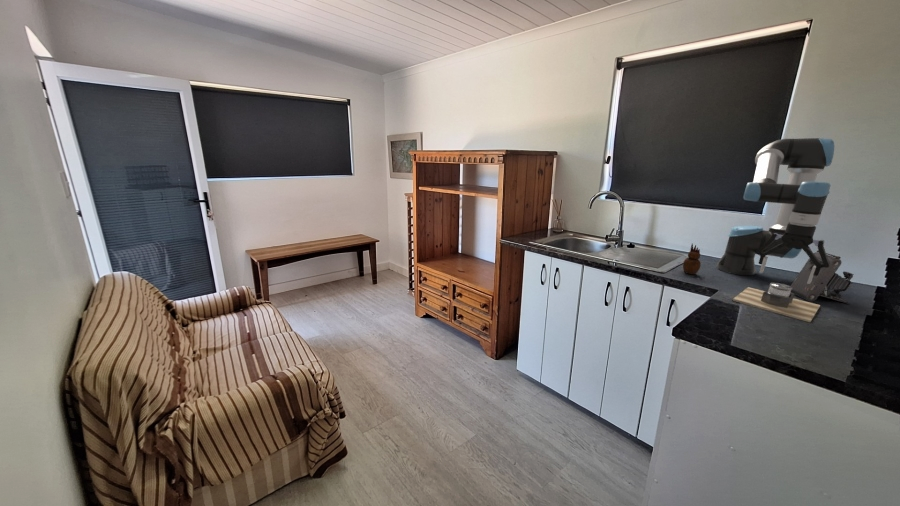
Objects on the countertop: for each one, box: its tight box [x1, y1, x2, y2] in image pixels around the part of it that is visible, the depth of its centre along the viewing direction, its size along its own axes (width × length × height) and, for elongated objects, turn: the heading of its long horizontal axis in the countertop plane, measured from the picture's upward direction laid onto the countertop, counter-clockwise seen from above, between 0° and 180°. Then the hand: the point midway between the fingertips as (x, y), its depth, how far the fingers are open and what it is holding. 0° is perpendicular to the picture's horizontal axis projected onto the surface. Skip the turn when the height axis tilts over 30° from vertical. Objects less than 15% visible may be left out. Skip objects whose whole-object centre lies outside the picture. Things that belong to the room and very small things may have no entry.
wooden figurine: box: [682, 243, 702, 275], centre depth 163 cm, size 7×6×15 cm
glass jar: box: [768, 282, 793, 297], centre depth 131 cm, size 6×6×7 cm
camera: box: [790, 250, 855, 305], centre depth 137 cm, size 11×17×20 cm, turn 79°
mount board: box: [732, 286, 821, 323], centre depth 132 cm, size 22×22×1 cm
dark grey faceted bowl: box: [761, 286, 796, 308], centre depth 131 cm, size 11×8×4 cm
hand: (784, 277), depth 129 cm, fingers open, 13 cm apart
